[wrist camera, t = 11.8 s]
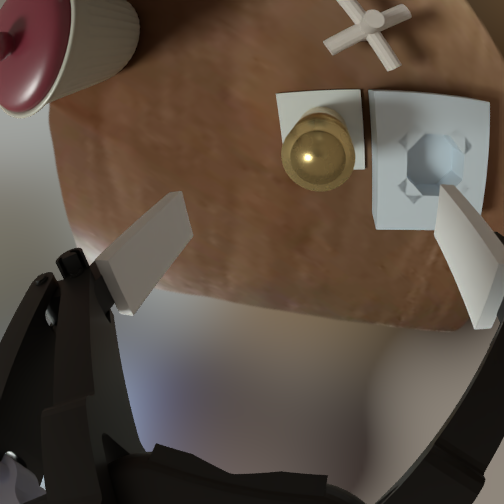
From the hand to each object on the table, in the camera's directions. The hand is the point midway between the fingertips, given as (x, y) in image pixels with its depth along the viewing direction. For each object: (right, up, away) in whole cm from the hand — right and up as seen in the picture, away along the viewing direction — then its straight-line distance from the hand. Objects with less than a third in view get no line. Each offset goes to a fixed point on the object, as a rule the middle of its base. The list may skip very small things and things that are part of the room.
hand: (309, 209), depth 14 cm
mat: (+6, +13, +20) cm, 24 cm away
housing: (+19, +10, +18) cm, 28 cm away
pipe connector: (+10, +23, +12) cm, 28 cm away
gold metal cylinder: (+6, +12, +19) cm, 24 cm away
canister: (-23, +29, +18) cm, 41 cm away
